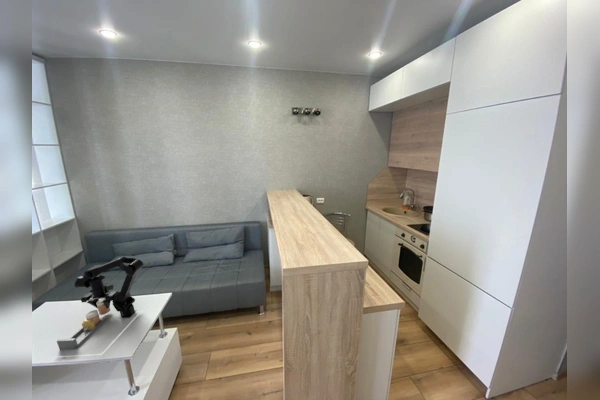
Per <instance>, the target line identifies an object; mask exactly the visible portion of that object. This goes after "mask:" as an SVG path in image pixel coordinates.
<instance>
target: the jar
mask: <svg viewBox="0 0 600 400" xmlns="http://www.w3.org/2000/svg"><path fill="white" fill-rule="evenodd" d="M104 300H105V298H99V300H98V301H97V302H96V304H97V308H98V309H97V308H96V309H97V311H98V314H99V316H102V315H106V314H109V312H110V311H111V308H110V307H109V308H108V309H107V308H106V306H105V305H104V303H103V301H104Z"/></svg>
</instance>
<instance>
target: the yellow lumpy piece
mask: <svg viewBox="0 0 600 400" xmlns="http://www.w3.org/2000/svg"><path fill="white" fill-rule="evenodd" d="M81 325H82V326H81V327H83V329H84V330H83V331H86V330H92V329H94V328H95V327H96V326H95V323H94V321H92V320H87V319H84V320H82V322H81Z"/></svg>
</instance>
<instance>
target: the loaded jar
mask: <svg viewBox="0 0 600 400" xmlns="http://www.w3.org/2000/svg"><path fill="white" fill-rule="evenodd" d="M100 319H101V318H100V314H99V311H98V309H94V310H92V311H89V312H87V313H86V314H85V320H92V321H94V323H95V326H97V325H98V324H99V323H100V322H101V321H100Z"/></svg>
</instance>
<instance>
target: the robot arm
mask: <svg viewBox="0 0 600 400" xmlns="http://www.w3.org/2000/svg"><path fill="white" fill-rule="evenodd" d="M127 264H128V265H127ZM143 266H144V262H143V261H142V260H140V259H138V258H135V257H126V256H120V257H119V258H116V259H114V260H112V261H109V262H106V263H104V264H96V265H93V266H92V267H90V268H88V269H87V270H85V271H84V273H83V276H82V275H80V276H77V277H76V278H75V279H76V280H75V282H74V287H75V288H76V289H86V288H87V289H88V288H90V290H89V292H87V293H86V294H85V295H83V296H82V297H81V299H80V301H81V303H87V304H90V305H91V306H92V307H94V308H96V310H98V308H97V304H96V302H97V301H98V300H100V299H102V298H105V300H104V301H103V303H104V305H105V306H106V308H107V309H108V308H109V307H110V306H111V302H112V306H113V308H114V309H115V310H116V311H117V312H119V314H120V319H129V318H131V317H132V316H133V315H134V314H135V313H136V312H137V309H136V310H135V307H134V303H135V302H136V298H134V297H132V296H131V293H130V292H131V289H132V287H133V284H134V282H135V279H136V276H137V274H138V273H139V272H140V271H141V269H142V268H143ZM117 267H118V268H119V269H121V270H122V271H124V272H125V275H126V276H125V279H124V280H123V283H122V286H121V289H120V291H117V290H115V291H113V290H114V284H113V283H111V284H105V283H104V281H103V280H104V279H106V276H104V275H101V274H102V273H105V272H107V271H110V270H112V269H115V268H117ZM111 290H112V291H111ZM110 291H111V292H110ZM109 292H110V293H109Z"/></svg>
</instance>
